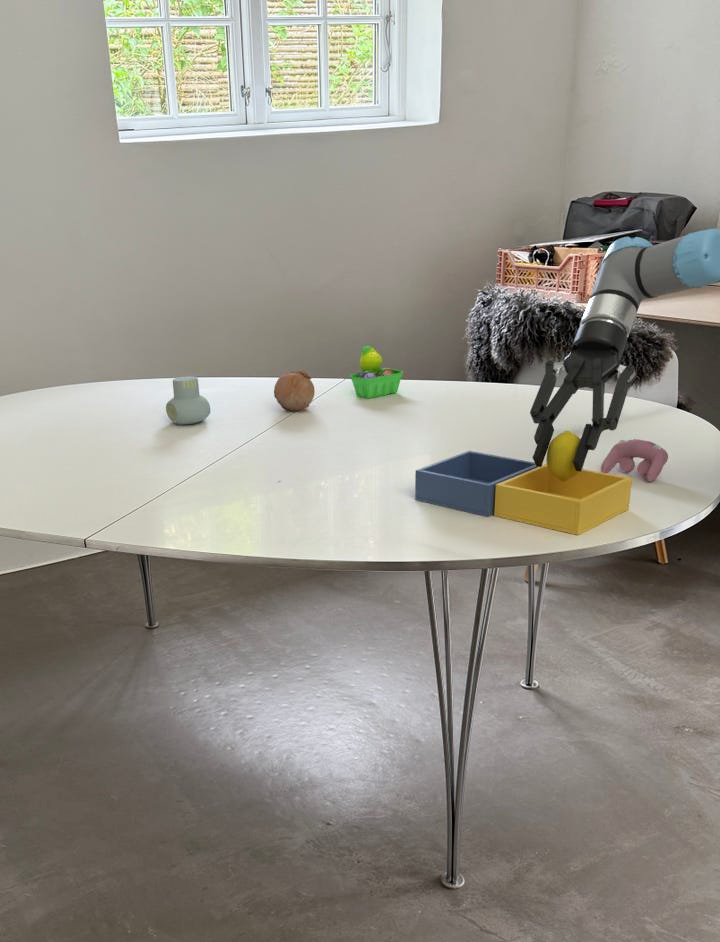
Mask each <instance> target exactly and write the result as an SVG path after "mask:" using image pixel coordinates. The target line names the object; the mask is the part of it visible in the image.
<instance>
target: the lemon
mask: <svg viewBox="0 0 720 942" xmlns="http://www.w3.org/2000/svg"><path fill="white" fill-rule="evenodd" d="M580 440H581V437H579V436H578V435H577V434H575V433H573V432H571V430H564V432H562V433H559V434H558V435H556V436H555V437H554V438H553V439H551V441H550V444H549V447H548V449H547V452H546V456H545V458H546V461H545V462H546V464H547V467H548V470H549V471H550V473H551V474H552V475H553V476H555V477H557V478H559V480H560V481H561V482H566V481H567V480H568V479H569V478H572V477H574V476H575V475H577V474H578V473H579V471H576V470H575V467H574V464H573V460H574V457H575V454H576V451H577V448H578V445H579V443H580Z"/></svg>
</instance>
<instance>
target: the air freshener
mask: <svg viewBox="0 0 720 942" xmlns="http://www.w3.org/2000/svg"><path fill="white" fill-rule="evenodd" d="M199 385H200V384H199V378H198V377H197V376H191V375H189V376H188V375H185V376H177V377H176V378H174V379H172V390H173V397H172V398H171V399H170V400H168V402H167V403H166V404H165V412H166V415H167V417H168V419H169V420H170V421H171V422H173V423H175V424H177V425H180V426H181V425H182V426H184V425H185V426H186V425H194V424H199V423H200V422H203V421H205V420H206V419H207V418H208V417H209V416H210V414H211V405H210V403H209V401H208V399H207V398H206V397H204V395H203V396H202V395H200V387H199Z"/></svg>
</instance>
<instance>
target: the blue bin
mask: <svg viewBox="0 0 720 942" xmlns="http://www.w3.org/2000/svg"><path fill="white" fill-rule="evenodd" d="M535 468H537V466H536V464H535V462H534V461H529V460H524V459H519V458H512V457H507V456H502V455H501V456H500V455H497V454H496V455H495V454H491V453H490V454H489V453H485V452H480V451H472V450H467V451H464V452H461V453H459V454H456V455H453V456H450V457H448V458H446V459H442V460H440V461H437V462H434V463H432V464H429V465H426V466H423V467H420V468H417V469H416V470H415V479H414V480H415V482H414V483H415V484H414V485H415V487H414V488H415V489H414V495H415V496H414V500H415V501H419V502H423V503H428V504H432V505H435V506H440V507H444V508H449V509H453V510H457V511H462V512H467V513H471V514H474V515H479V516H482V517H490V516H494V509H495V489H496V484H498V483H501V482H503V481H506V480H508V479H511V478H513V477H515V476H518V475H520V474H523V473H525V472H527V471H530V470H532V469H535Z"/></svg>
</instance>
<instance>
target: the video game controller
mask: <svg viewBox="0 0 720 942" xmlns="http://www.w3.org/2000/svg"><path fill="white" fill-rule="evenodd" d="M634 458H638V459H643V460H642V461H640V462H639V463H638V464H637V467H636V462H635V460H634ZM668 460H669V454H668V451H667V450H666V449H664V448H663V447H661V446H660V444H657V443H655V442H652V441H649V440H644V439H637V438H636V439H635V438H633V439H629V440H628V439H625V440H624V439H621V440H619V441H618V443H617V442H616V443H614V445H613V446H612V448H611V449H610V451H609V452H608V453H607V455H606V456H605V458H604V459H603V461H602V462H601V467H600V472H602V473H608V474H609V473H610V472H611V471H612V470H613V469H614V467H616V465H617V464H619V469H620V471H621V472H623V473H631V472H633V471H634V470H635V468H636V473H638V474H639V475H640V476H643V477H646V480H647V482H649V483H652V482H654V481H655V480H656V479H658V478H659V476H660V474H661V472H662V471H663V468H664V466H665V465H666V463H667V462H668Z"/></svg>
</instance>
